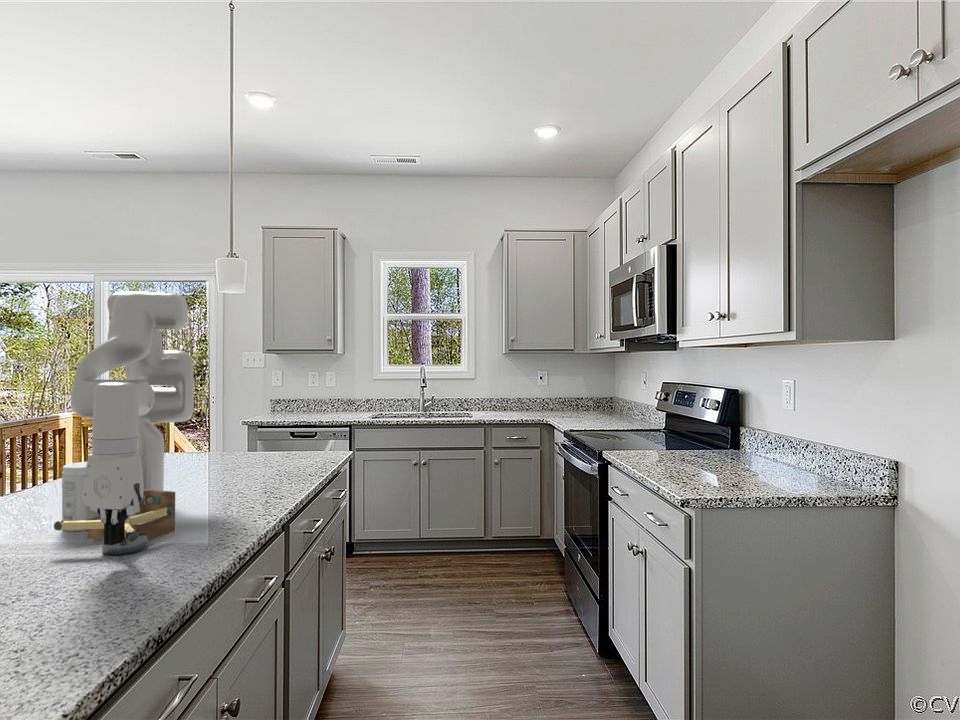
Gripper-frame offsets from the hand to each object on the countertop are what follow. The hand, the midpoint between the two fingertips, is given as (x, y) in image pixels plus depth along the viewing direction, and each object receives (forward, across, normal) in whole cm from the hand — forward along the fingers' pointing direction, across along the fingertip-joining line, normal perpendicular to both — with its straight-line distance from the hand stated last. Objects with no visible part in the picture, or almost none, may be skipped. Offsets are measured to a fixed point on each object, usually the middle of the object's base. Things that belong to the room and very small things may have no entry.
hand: (114, 542), depth 116 cm
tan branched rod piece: (+4, -4, +6) cm, 8 cm away
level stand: (+4, -13, +17) cm, 22 cm away
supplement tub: (+5, -28, +19) cm, 34 cm away
